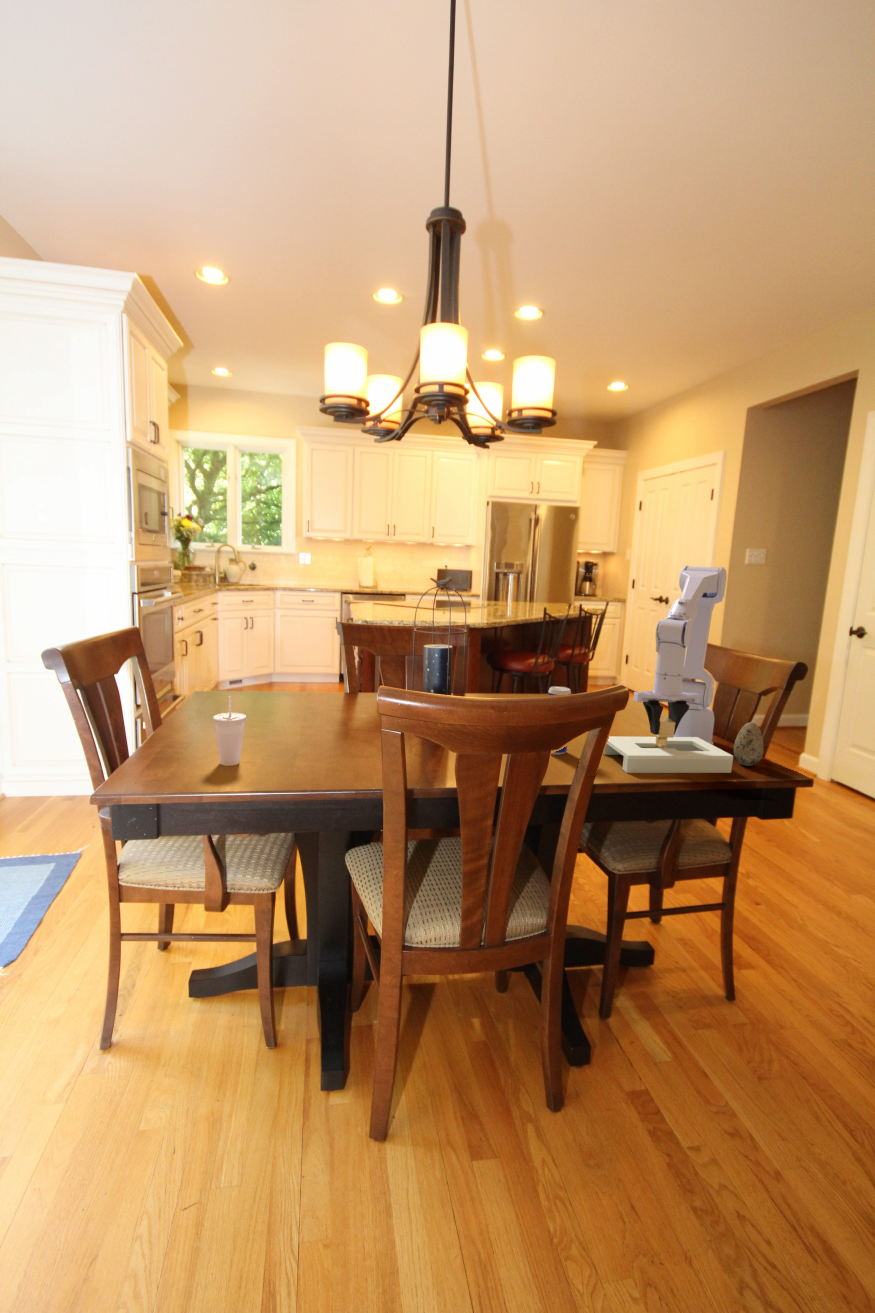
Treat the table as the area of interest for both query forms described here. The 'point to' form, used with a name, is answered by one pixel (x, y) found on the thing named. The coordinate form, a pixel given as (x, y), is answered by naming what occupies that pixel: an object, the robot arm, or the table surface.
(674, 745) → the keyhole plate
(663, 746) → the keyhole peg
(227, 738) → the smoothie
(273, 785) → the table surface
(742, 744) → the decorative egg
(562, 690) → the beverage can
